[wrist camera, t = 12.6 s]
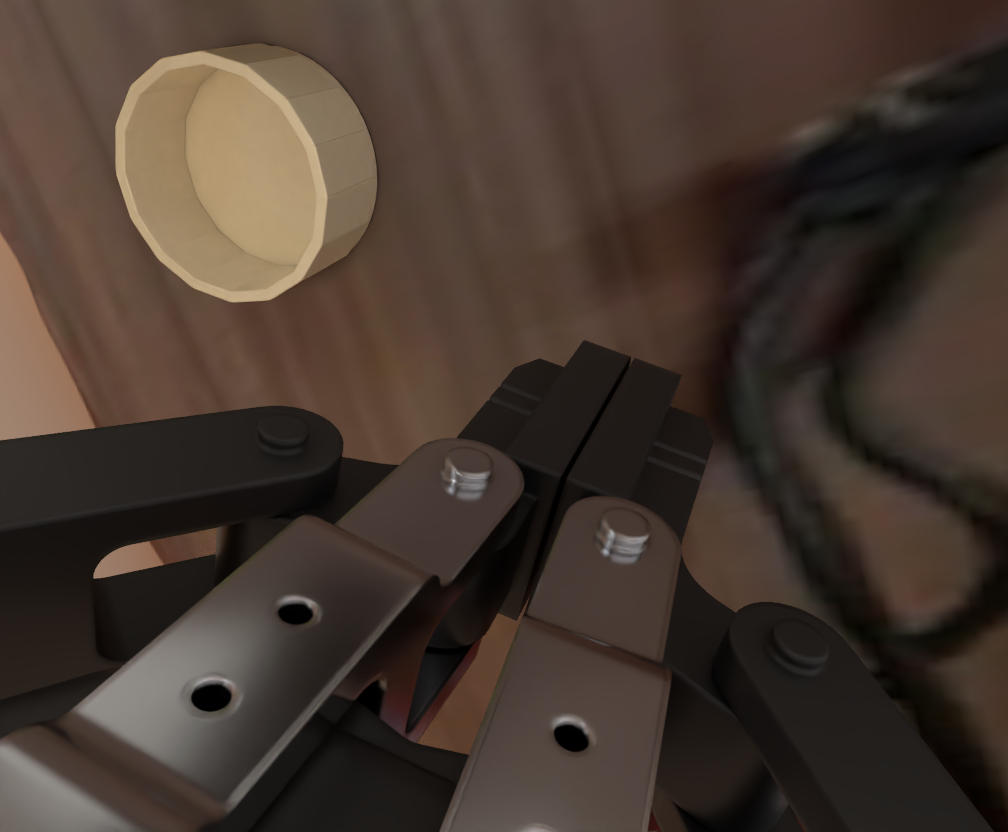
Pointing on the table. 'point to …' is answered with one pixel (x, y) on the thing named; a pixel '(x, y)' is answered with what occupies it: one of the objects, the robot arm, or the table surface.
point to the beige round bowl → (245, 168)
